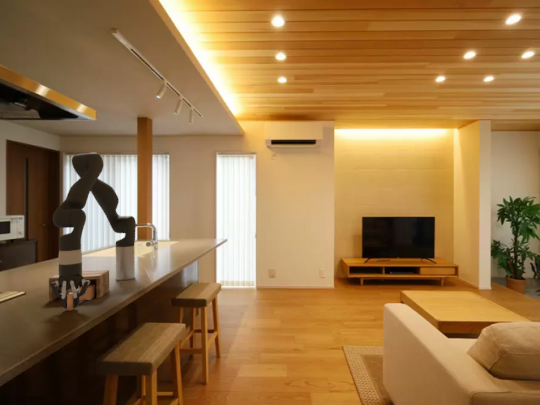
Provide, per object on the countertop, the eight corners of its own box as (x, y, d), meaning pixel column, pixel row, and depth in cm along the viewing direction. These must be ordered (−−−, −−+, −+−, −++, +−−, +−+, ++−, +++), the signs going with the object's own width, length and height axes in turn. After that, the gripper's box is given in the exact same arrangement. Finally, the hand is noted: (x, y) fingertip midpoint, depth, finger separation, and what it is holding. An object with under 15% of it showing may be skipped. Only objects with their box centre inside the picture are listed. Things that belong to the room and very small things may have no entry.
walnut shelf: (62, 292, 146) (62, 272, 146) (109, 290, 149) (109, 270, 149) (49, 300, 135) (48, 278, 135) (99, 298, 138) (99, 276, 138)
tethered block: (82, 297, 139) (82, 283, 139) (94, 296, 140) (94, 282, 140) (62, 310, 121) (62, 294, 121) (76, 310, 122) (76, 294, 122)
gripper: (94, 259, 127) (94, 303, 127) (55, 260, 125) (55, 305, 125) (86, 263, 120) (86, 309, 120) (44, 264, 118) (45, 312, 118)
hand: (70, 307), depth 123 cm, fingers closed on tethered block, 2 cm apart
